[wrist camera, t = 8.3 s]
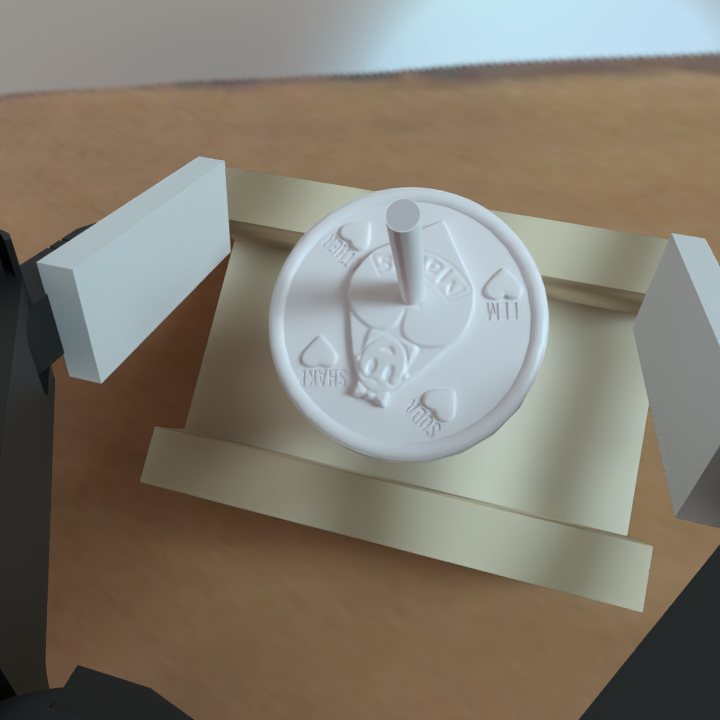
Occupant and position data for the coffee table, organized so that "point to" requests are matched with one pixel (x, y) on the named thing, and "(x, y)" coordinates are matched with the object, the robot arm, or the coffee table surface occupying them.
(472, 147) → the coffee table surface
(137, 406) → the coffee table surface
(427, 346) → the smoothie
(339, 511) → the tray
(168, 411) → the coffee table surface
